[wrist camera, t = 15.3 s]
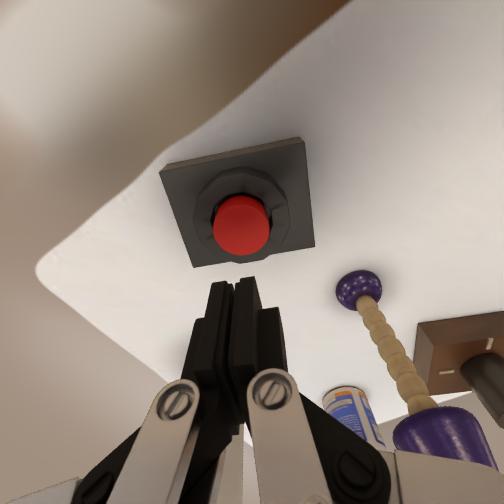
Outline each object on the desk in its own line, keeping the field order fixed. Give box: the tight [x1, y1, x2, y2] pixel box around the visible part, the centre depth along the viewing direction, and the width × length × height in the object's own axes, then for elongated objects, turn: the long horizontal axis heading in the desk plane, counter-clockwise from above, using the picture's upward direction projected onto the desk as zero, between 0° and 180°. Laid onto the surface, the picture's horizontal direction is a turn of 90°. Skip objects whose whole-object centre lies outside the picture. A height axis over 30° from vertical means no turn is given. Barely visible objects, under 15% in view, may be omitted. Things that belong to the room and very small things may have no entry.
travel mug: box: [216, 424, 244, 504], centre depth 24 cm, size 6×7×20 cm
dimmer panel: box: [413, 311, 504, 396], centre depth 30 cm, size 10×8×3 cm
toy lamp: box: [336, 271, 499, 471], centre depth 20 cm, size 5×5×17 cm
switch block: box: [159, 137, 315, 268], centre depth 21 cm, size 10×8×4 cm
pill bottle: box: [323, 387, 387, 452], centre depth 32 cm, size 5×5×10 cm
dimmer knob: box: [461, 353, 504, 429], centre depth 26 cm, size 4×4×5 cm
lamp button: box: [213, 195, 269, 255], centre depth 19 cm, size 4×4×2 cm
